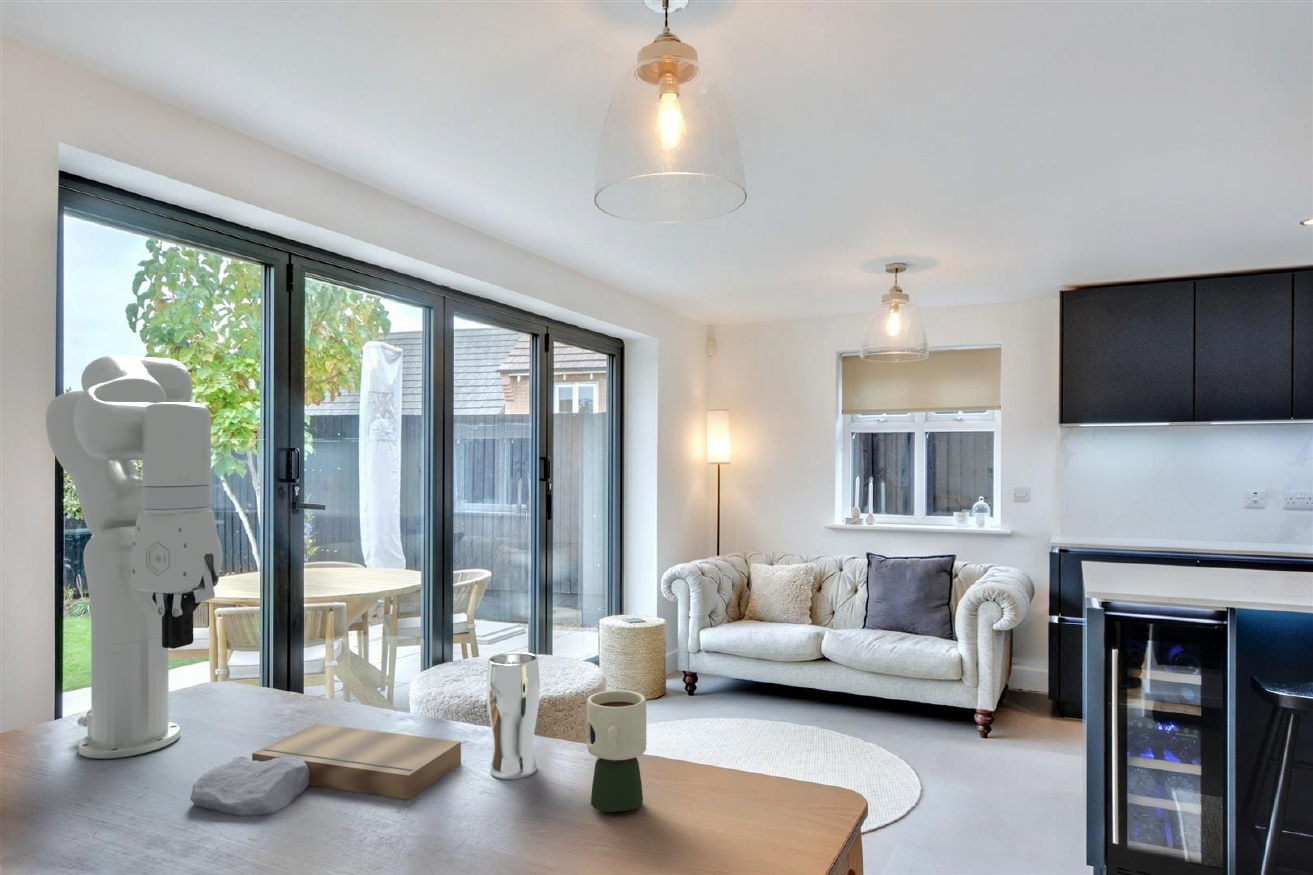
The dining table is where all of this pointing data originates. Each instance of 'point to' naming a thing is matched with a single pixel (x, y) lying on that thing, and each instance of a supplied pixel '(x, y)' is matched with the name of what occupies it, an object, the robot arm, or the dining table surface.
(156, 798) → the dining table surface
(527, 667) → the beer glass
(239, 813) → the stone block
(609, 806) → the character mug
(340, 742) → the brown wooden board
